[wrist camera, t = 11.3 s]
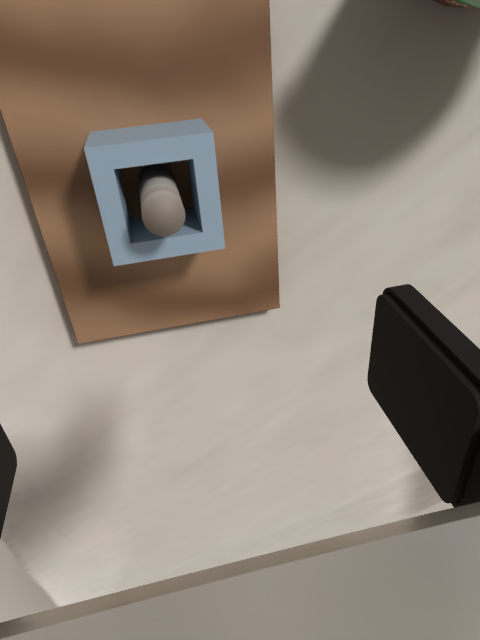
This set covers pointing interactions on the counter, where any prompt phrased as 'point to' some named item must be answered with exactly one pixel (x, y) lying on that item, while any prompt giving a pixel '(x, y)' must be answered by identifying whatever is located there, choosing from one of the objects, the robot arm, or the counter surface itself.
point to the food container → (461, 3)
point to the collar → (145, 149)
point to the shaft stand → (149, 180)
